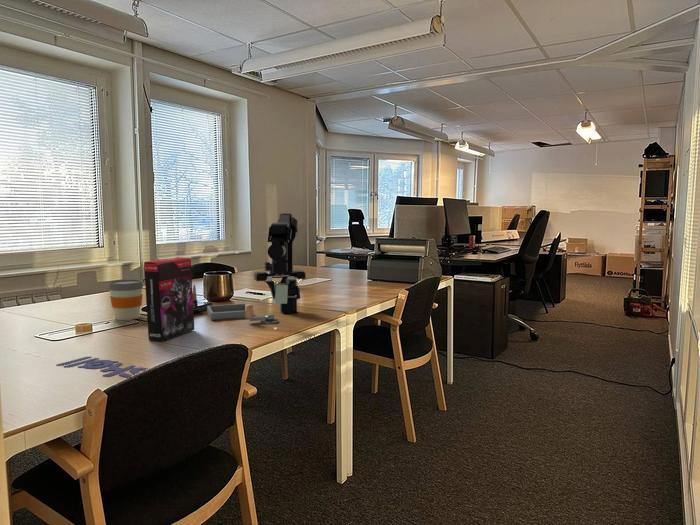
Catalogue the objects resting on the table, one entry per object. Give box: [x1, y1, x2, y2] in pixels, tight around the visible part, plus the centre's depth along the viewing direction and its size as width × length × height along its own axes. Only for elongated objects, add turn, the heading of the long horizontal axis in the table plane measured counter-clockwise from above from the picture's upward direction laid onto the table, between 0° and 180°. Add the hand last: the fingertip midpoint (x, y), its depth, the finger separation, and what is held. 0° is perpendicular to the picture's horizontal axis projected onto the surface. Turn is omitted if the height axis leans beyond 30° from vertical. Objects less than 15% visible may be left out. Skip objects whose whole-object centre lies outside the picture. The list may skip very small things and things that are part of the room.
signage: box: [55, 356, 149, 379], centre depth 135 cm, size 28×1×10 cm
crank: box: [244, 303, 275, 322], centre depth 190 cm, size 12×4×6 cm, turn 112°
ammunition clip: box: [192, 283, 199, 308], centre depth 206 cm, size 11×2×12 cm, turn 143°
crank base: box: [260, 317, 279, 331], centre depth 187 cm, size 7×16×1 cm, turn 22°
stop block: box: [272, 282, 288, 305], centre depth 181 cm, size 4×4×7 cm
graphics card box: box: [143, 256, 195, 342], centre depth 169 cm, size 17×7×27 cm, turn 159°
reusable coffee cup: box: [108, 278, 144, 321], centre depth 196 cm, size 13×13×15 cm
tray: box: [206, 302, 248, 322], centre depth 203 cm, size 17×16×3 cm
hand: (280, 298), depth 182 cm, fingers closed on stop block, 5 cm apart
